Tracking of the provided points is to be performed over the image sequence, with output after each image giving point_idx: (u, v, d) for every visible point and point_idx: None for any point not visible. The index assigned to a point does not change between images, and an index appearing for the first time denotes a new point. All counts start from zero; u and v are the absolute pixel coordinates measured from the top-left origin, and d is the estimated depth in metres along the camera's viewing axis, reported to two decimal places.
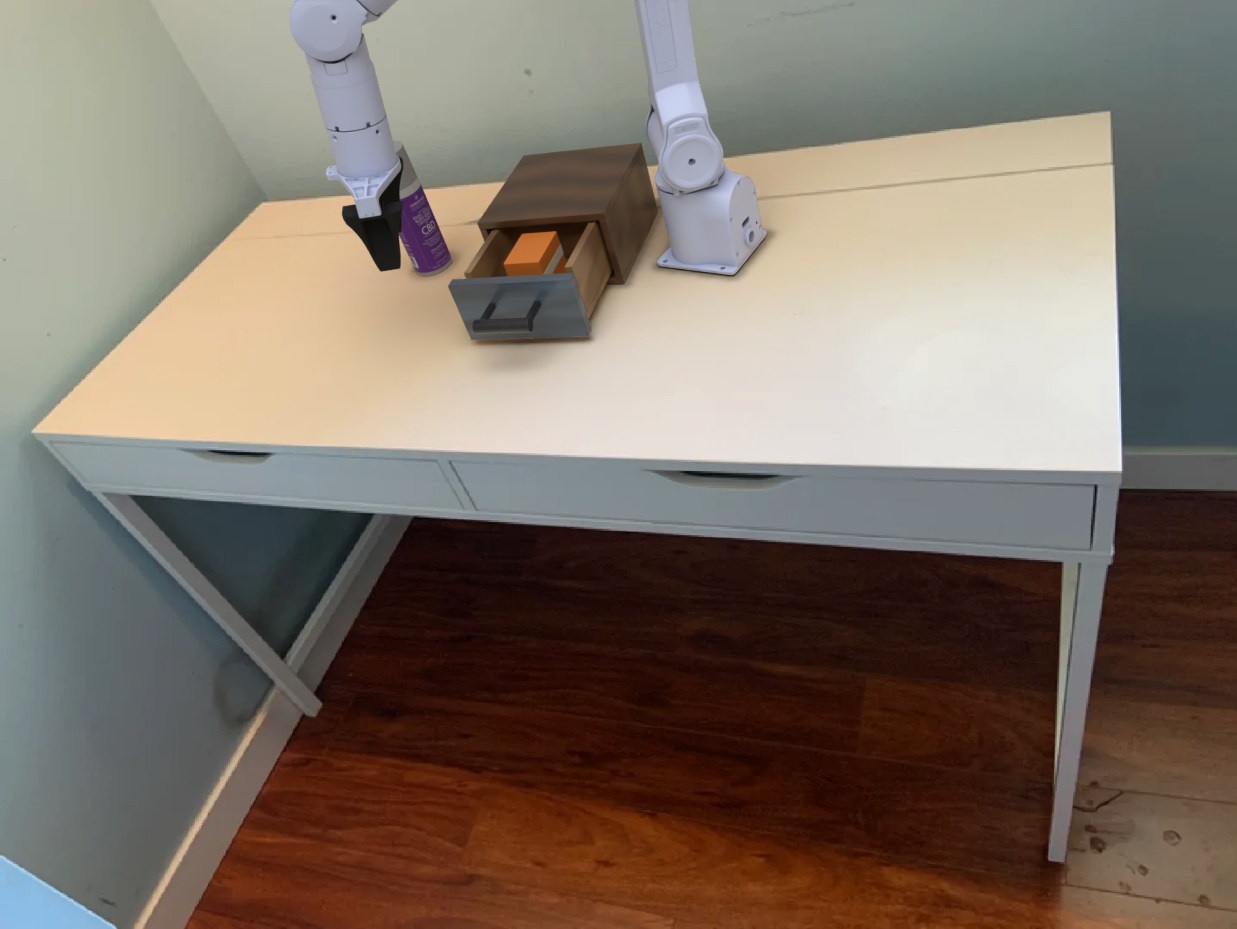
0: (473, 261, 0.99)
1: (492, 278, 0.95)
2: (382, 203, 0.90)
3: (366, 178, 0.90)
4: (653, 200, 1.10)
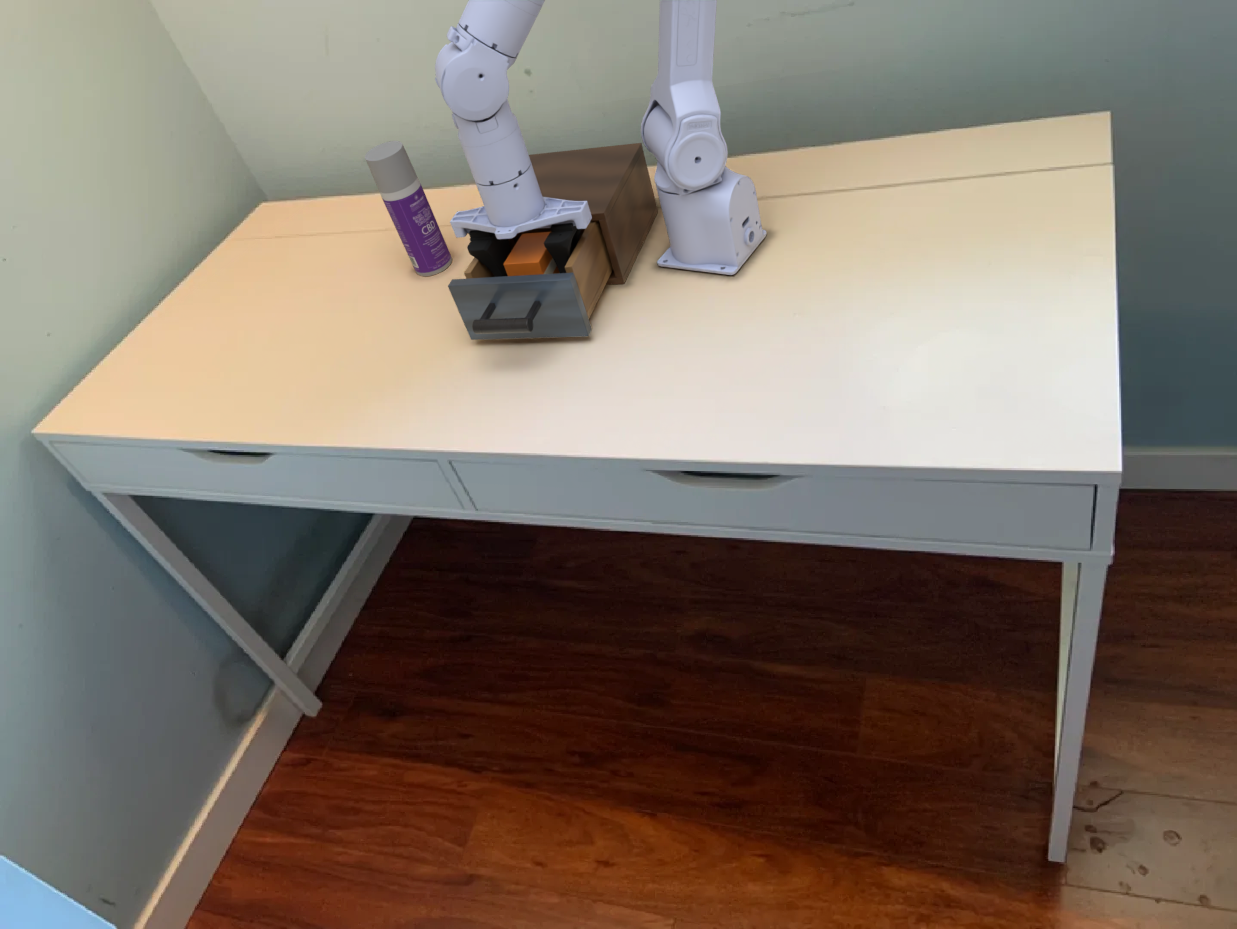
0: (473, 261, 0.99)
1: (492, 278, 0.95)
2: None
3: (545, 209, 0.94)
4: (653, 200, 1.10)
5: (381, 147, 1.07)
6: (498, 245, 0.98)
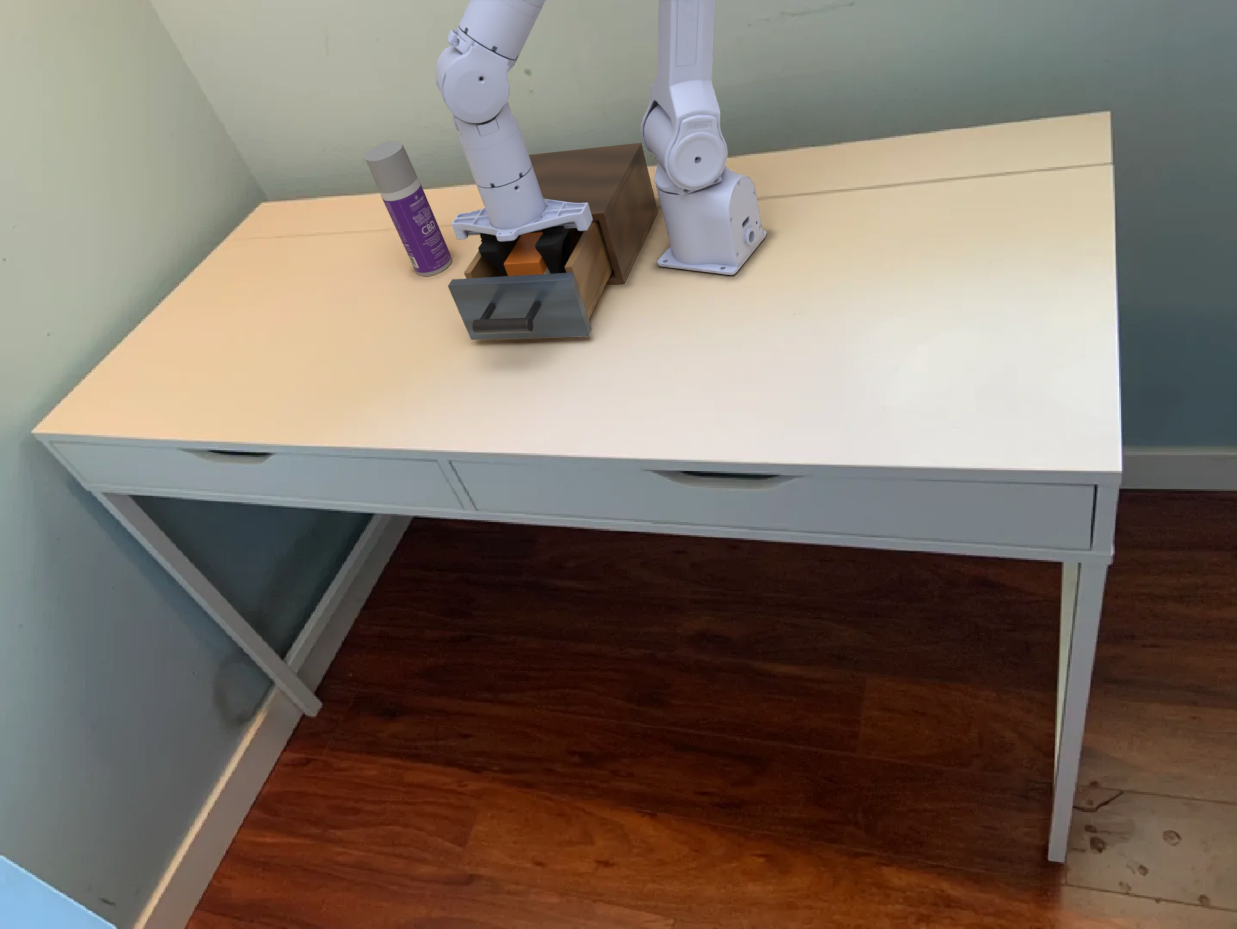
0: (473, 261, 0.99)
1: (492, 278, 0.95)
2: None
3: (546, 211, 0.94)
4: (653, 200, 1.10)
5: (381, 147, 1.07)
6: (509, 246, 0.98)
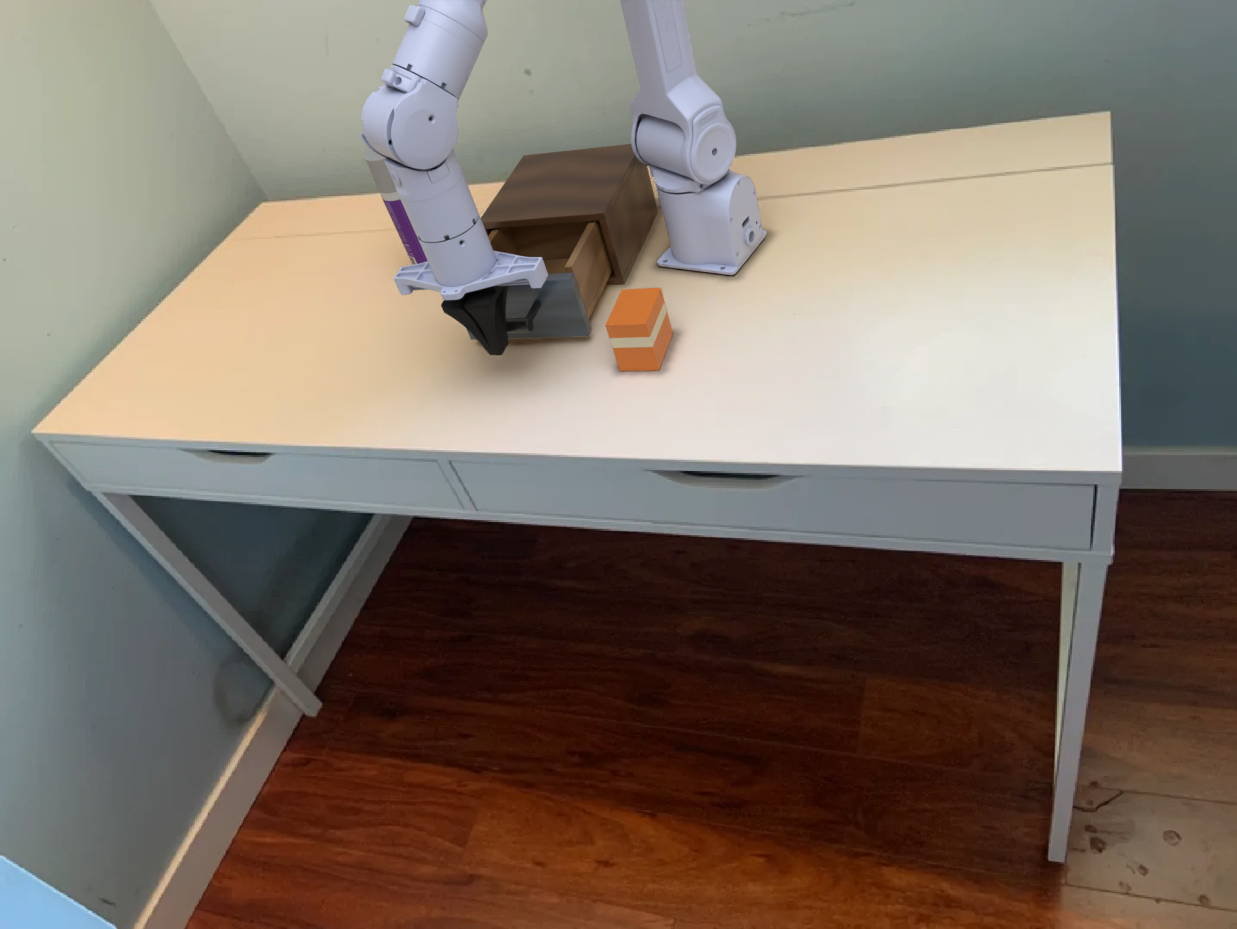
0: None
1: None
2: None
3: (496, 266, 0.85)
4: (653, 200, 1.10)
5: None
6: None
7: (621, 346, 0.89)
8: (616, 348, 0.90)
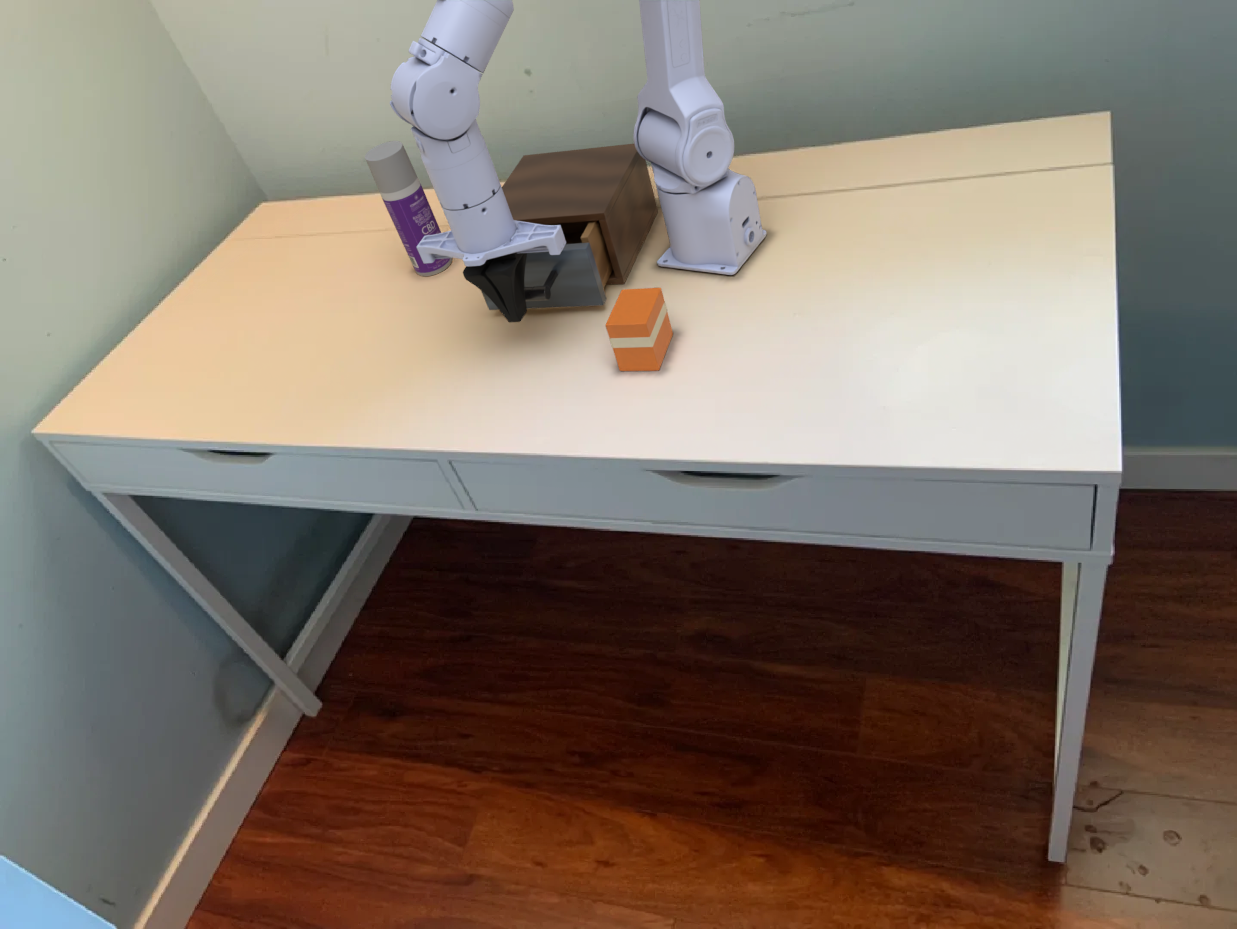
0: None
1: None
2: None
3: (516, 233, 0.88)
4: (653, 200, 1.10)
5: (381, 147, 1.07)
6: None
7: (621, 346, 0.89)
8: (616, 348, 0.90)
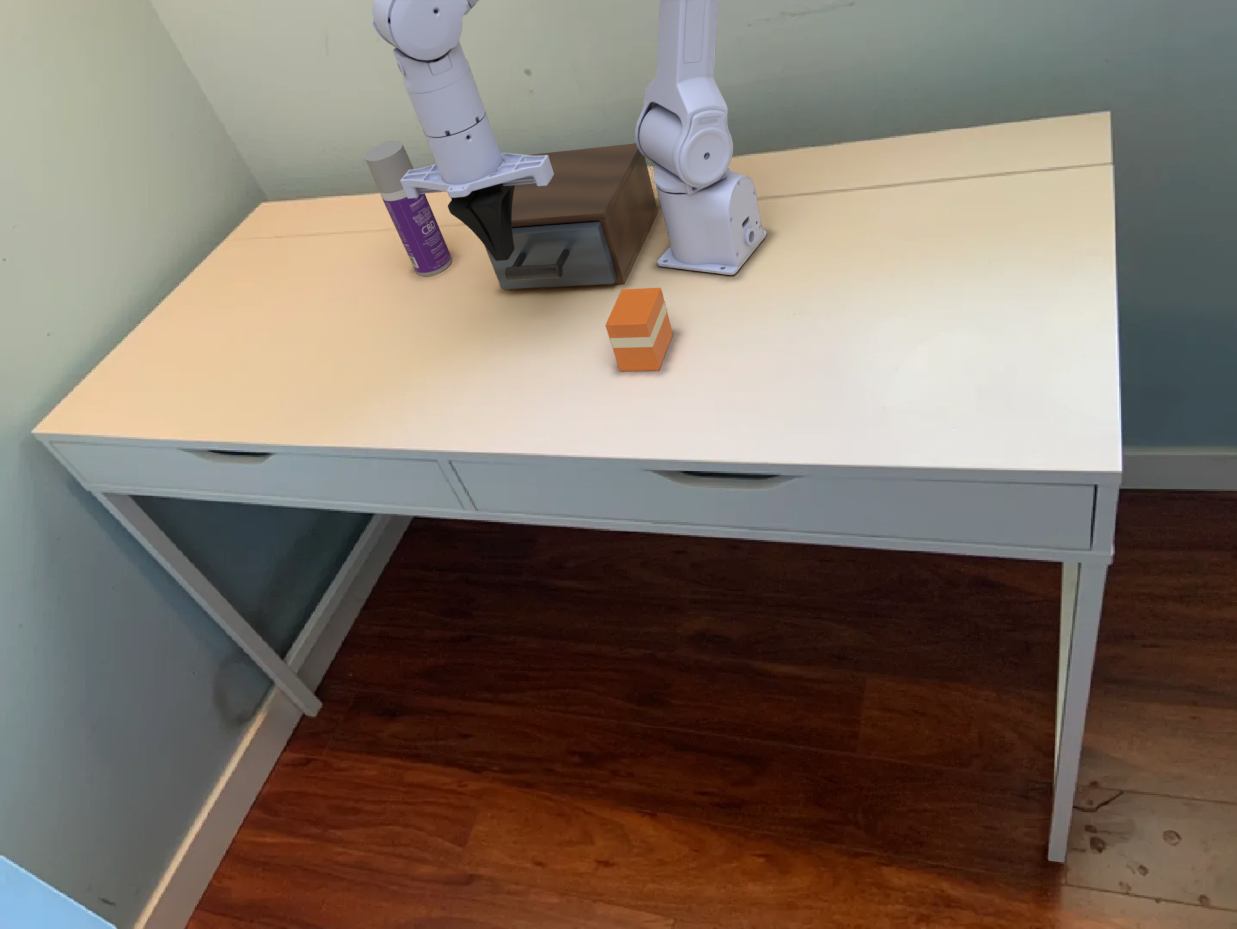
0: None
1: (523, 228, 1.00)
2: None
3: (502, 164, 0.86)
4: (653, 200, 1.10)
5: (381, 147, 1.07)
6: None
7: (621, 346, 0.89)
8: (616, 348, 0.90)
